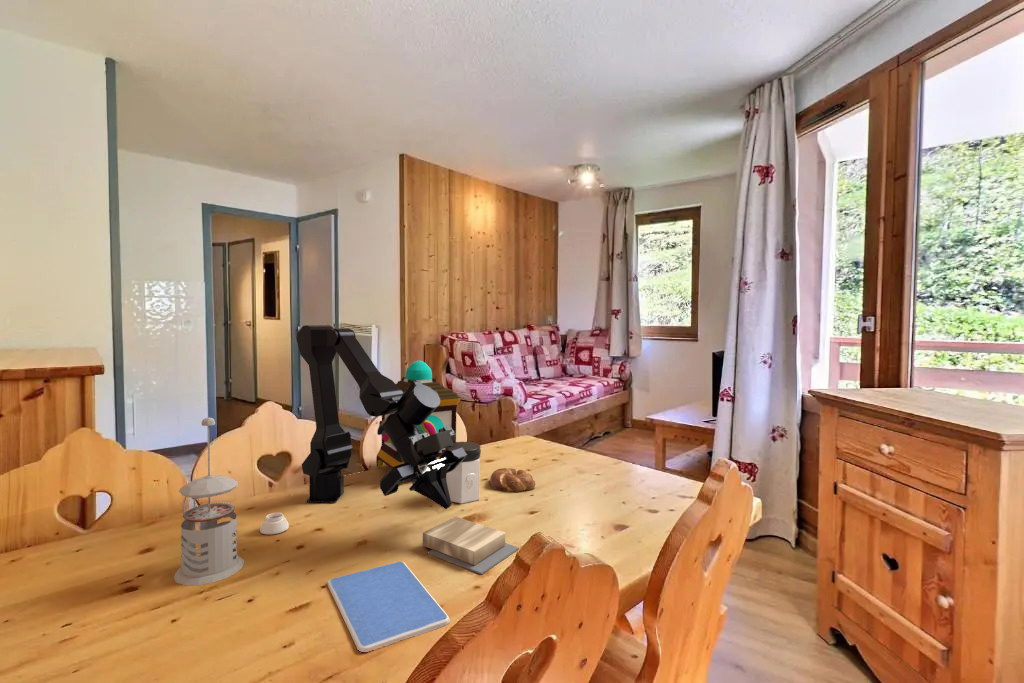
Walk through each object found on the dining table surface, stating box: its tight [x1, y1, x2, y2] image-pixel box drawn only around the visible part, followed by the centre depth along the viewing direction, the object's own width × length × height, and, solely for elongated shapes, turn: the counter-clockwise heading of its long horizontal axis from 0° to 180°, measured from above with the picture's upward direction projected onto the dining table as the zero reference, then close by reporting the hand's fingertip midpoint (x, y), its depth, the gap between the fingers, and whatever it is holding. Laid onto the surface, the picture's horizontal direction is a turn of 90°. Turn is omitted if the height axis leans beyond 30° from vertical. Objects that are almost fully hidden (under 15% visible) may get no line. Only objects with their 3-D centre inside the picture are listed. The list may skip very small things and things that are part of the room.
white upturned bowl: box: [259, 512, 290, 536], centre depth 95 cm, size 5×3×5 cm
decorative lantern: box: [375, 360, 461, 485], centre depth 132 cm, size 20×20×30 cm
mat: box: [427, 542, 520, 575], centre depth 88 cm, size 12×11×1 cm
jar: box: [445, 441, 482, 504], centre depth 114 cm, size 9×8×12 cm
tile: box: [422, 516, 507, 565], centre depth 89 cm, size 2×9×12 cm
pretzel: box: [489, 467, 536, 493], centre depth 123 cm, size 12×11×4 cm
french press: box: [173, 417, 245, 586], centre depth 80 cm, size 10×12×25 cm
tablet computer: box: [327, 561, 451, 652], centre depth 72 cm, size 19×13×1 cm, turn 32°
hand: (448, 507), depth 91 cm, fingers closed
